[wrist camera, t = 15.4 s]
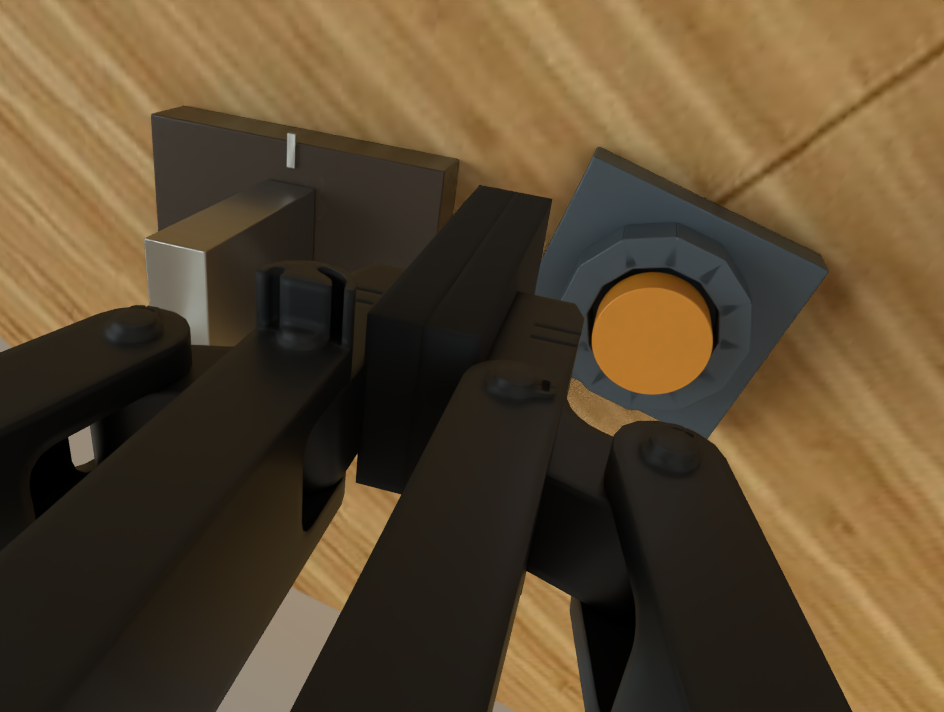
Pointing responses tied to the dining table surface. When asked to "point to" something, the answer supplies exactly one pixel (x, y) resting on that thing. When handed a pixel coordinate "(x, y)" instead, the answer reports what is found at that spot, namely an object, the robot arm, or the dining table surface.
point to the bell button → (652, 333)
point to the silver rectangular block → (228, 258)
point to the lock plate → (307, 182)
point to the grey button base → (688, 257)
